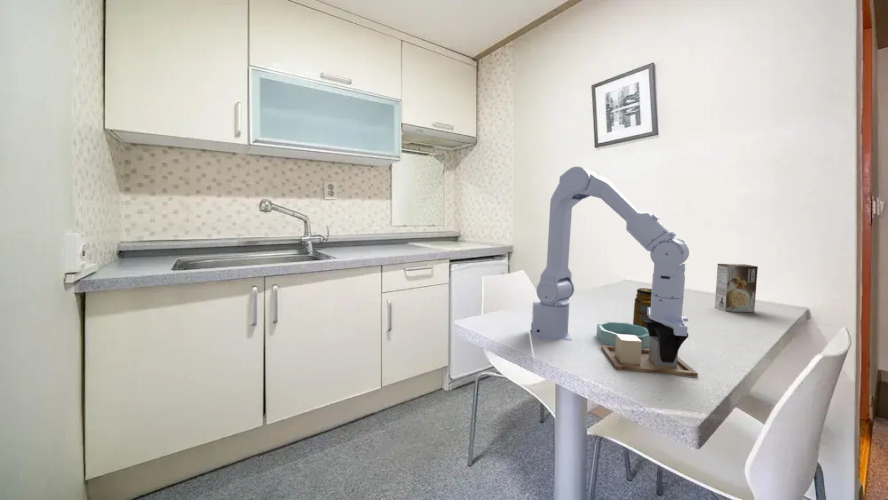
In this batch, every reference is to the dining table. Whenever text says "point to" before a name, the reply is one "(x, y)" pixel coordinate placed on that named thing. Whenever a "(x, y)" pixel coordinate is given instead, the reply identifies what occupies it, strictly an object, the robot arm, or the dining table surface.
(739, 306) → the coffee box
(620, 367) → the tray
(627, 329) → the bowl
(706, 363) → the dining table surface
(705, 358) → the dining table surface
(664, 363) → the grey block
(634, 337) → the beige block
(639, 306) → the condiment
